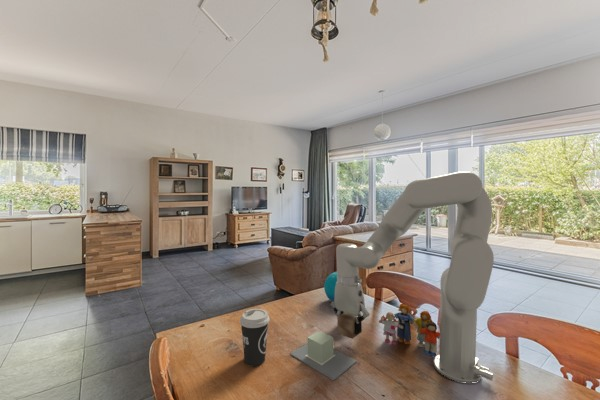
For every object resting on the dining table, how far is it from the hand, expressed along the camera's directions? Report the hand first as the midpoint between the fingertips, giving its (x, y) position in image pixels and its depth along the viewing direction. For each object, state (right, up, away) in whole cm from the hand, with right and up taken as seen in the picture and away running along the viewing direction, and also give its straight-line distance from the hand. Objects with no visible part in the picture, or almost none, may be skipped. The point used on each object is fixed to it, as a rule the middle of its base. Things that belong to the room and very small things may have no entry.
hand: (349, 329), depth 97 cm
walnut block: (0, -1, 0) cm, 1 cm away
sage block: (-11, -5, -7) cm, 14 cm away
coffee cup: (-32, -6, -8) cm, 34 cm away
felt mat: (-10, -6, -7) cm, 14 cm away
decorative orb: (+2, -4, +37) cm, 37 cm away
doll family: (+22, -6, +2) cm, 23 cm away
